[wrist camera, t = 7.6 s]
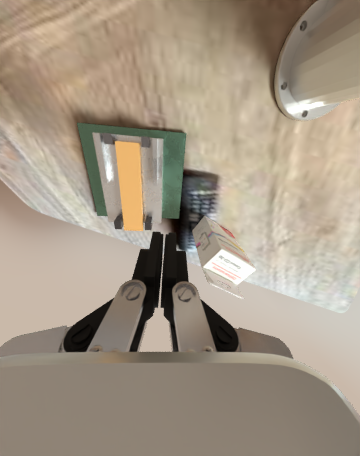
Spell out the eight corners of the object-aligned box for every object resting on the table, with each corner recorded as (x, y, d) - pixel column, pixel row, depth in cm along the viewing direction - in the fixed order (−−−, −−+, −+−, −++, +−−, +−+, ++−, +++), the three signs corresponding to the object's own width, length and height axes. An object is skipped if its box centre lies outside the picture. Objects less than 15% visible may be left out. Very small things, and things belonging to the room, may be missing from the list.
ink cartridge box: (232, 231, 35) (268, 284, 23) (218, 246, 37) (244, 302, 25) (204, 213, 32) (228, 263, 20) (190, 230, 34) (204, 285, 22)
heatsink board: (80, 123, 23) (49, 118, 17) (185, 133, 24) (191, 132, 18) (99, 213, 30) (83, 232, 24) (178, 216, 32) (181, 234, 26)
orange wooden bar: (116, 141, 20) (114, 140, 19) (140, 143, 20) (139, 143, 19) (125, 228, 26) (124, 230, 25) (143, 228, 26) (142, 230, 25)
